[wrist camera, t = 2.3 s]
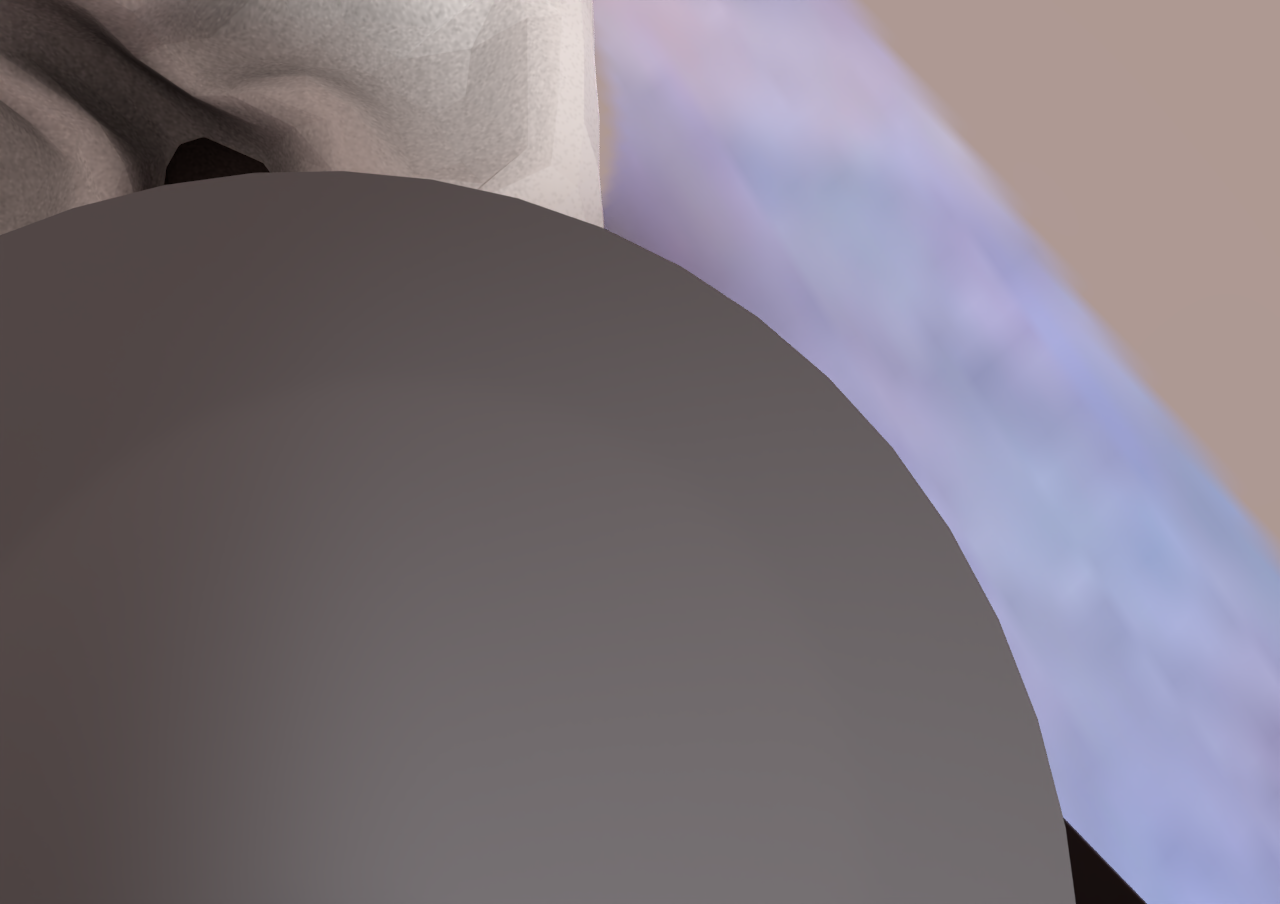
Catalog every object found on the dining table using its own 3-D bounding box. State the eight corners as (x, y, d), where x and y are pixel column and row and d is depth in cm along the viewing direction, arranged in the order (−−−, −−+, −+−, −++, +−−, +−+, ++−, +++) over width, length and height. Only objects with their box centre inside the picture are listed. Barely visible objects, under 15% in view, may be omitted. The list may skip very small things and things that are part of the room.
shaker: (780, 871, 16) (1414, 1522, 3) (435, 1011, 15) (-611, 2559, 2) (653, 535, 17) (715, 7, 4) (332, 654, 17) (-667, 439, 4)
